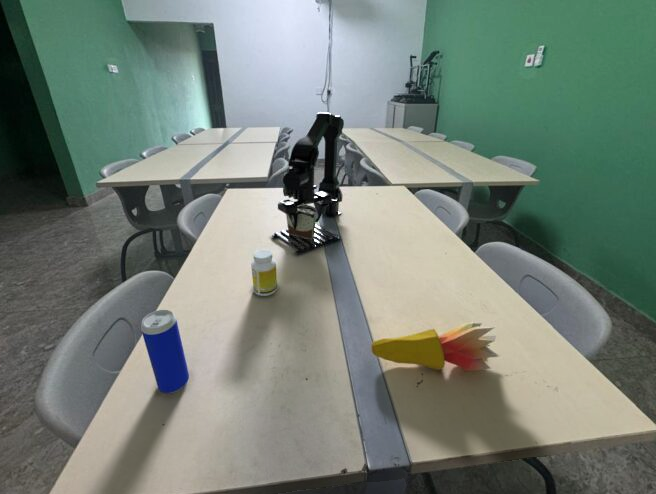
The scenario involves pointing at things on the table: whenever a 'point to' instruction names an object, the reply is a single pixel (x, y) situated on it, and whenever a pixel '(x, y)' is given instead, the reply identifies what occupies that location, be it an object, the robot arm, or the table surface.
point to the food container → (304, 222)
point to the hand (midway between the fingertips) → (305, 225)
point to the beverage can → (165, 350)
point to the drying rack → (305, 247)
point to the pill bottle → (264, 273)
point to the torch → (440, 348)
